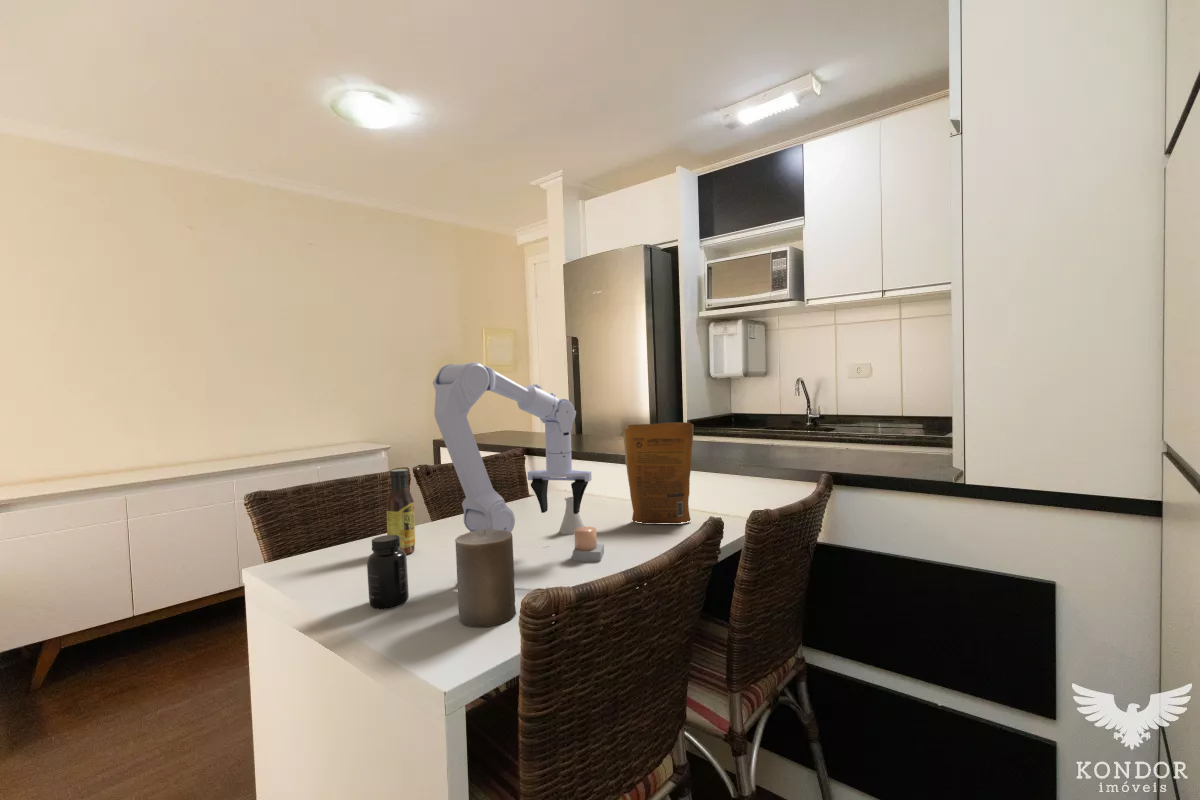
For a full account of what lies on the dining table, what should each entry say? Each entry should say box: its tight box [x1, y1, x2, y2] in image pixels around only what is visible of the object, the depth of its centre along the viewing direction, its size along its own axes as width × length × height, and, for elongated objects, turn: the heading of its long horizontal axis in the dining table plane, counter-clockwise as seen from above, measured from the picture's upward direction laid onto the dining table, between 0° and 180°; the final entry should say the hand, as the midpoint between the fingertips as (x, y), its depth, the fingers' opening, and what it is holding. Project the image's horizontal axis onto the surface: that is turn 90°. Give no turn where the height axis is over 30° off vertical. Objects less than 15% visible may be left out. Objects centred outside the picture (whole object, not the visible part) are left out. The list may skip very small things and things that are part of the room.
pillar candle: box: [454, 529, 517, 628], centre depth 95 cm, size 10×10×15 cm
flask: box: [558, 496, 585, 536], centre depth 143 cm, size 7×7×10 cm
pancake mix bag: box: [622, 421, 694, 523], centre depth 153 cm, size 7×19×28 cm, turn 79°
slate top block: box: [572, 543, 605, 562], centre depth 121 cm, size 6×6×2 cm
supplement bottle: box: [366, 534, 410, 610], centre depth 102 cm, size 7×7×12 cm
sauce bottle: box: [386, 468, 416, 555], centre depth 133 cm, size 7×6×20 cm
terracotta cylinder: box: [574, 526, 598, 551], centre depth 121 cm, size 5×5×4 cm
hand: (560, 512), depth 125 cm, fingers open, 7 cm apart
